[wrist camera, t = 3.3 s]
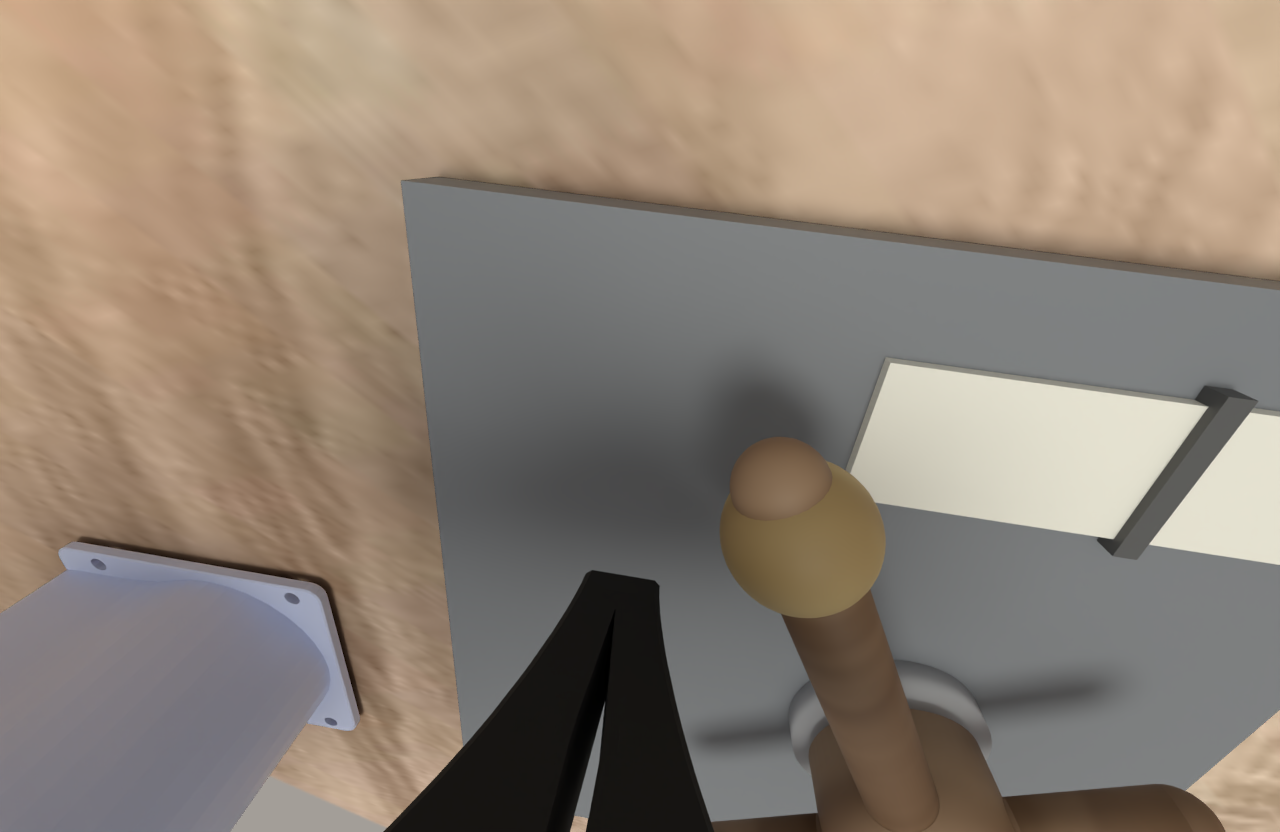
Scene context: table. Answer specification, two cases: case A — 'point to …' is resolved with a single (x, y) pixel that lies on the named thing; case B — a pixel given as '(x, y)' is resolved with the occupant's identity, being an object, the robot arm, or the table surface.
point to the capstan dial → (882, 675)
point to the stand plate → (860, 474)
